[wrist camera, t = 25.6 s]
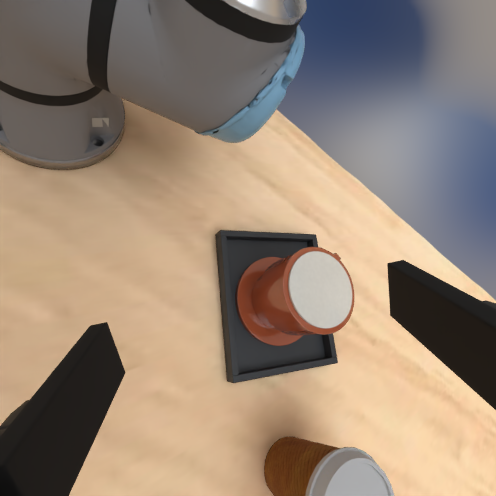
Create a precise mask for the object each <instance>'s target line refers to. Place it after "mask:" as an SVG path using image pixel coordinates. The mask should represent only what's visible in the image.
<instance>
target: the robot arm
mask: <svg viewBox="0 0 496 496" xmlns="http://www.w3.org/2000/svg"><path fill="white" fill-rule="evenodd" d="M306 7H307V5H306V0H0V150H2V151H3V152H5V153H6V154H8V155H10V156H12V157H13V158H15V159H18V160H20V161H22V162H25V163H27V164H30V165H34V166H37V167H42V168H48V169H58V170H68V169H77V168H83V167H87V166H90V165H93V164H95V163H97V162H99V161H101V160H103V159H105V158H106V157H107V156H109V155H110V154H111V153H112V152H113V151H114V150H115V149H116V147H117V146H118V144H119V142H120V140H121V138H122V135H123V130H124V120H125V111H124V106H123V102H122V99H121V98H123V99H125V100H128V101H130V102H132V103H134V104H136V105H139V106H141V107H143V108H145V109H148V110H150V111H152V112H154V113H157V114H159V115H161V116H163V117H166V118H168V119H170V120H172V121H175V122H177V123H179V124H181V125H184V126H186V127H188V128H190V129H193V130H194V131H195V132H196V133H198V134H202V135H209V136H211V137H214V138H217V139H219V140H222V141H224V142H228V143H239V142H242V141H244V140H246V139H248V138H250V137H251V136H253V135H254V134H255V133H256V132H257V131H258V130H259V129H260V128H261V127H262V126H263V125H264V124H265V123H266V122H267V121H268V119H269V118H270V117H271V116H272V114H273V113H274V112H275V110H276V109H277V107H278V106H279V104H280V103H281V101H282V100H283V98H284V96H285V94H286V88H287V86H288V85H289V83H290V82H291V81H292V80H293V79H294V77H295V75H296V73H297V70H298V68H299V66H300V63H301V60H302V56H303V53H304V47H305V41H304V33H303V32H302V31H301V29H300V26H299V25H298V24H299V22H300V21H301V19H302V18H303V15H304V14H305V12H306ZM388 281H389V298H390V316H392V317H393V318H394V319H395V320H396V321H397V322H398V323H399V324H401V325H402V326H403V327H404V328H405V329H406V330H407V331H408V332H409V333H411V334H412V335H413V336H414V337H415V338H416V339H417V340H418V341H419V342H421V343H422V344H423V345H424V346H425V347H426V348H427V349H428V350H429V351H431V352H432V353H433V354H434V355H435V356H436V357H437V358H438V359H440V360H441V361H442V362H443V363H444V364H445V365H446V366H447V367H448V368H450V369H451V370H452V371H453V372H454V373H455V374H456V375H457V376H458V377H460V378H461V379H462V380H463V381H464V382H465V383H466V384H467V385H469V386H470V387H471V388H472V389H473V390H474V391H475V392H476V393H477V394H479V395H480V396H481V397H482V398H483V399H484V400H485V401H486V402H487V403H489V404H490V405H491V406H492V407H493V408H494V409H495V410H496V303H492V302H489V301H480V300H478V299H476V298H474V297H472V296H470V295H468V294H467V293H465V292H463V291H461V290H459V289H457V288H455V287H453V286H451V285H450V284H448V283H446V282H444V281H442V280H440V279H438V278H436V277H434V276H433V275H431V274H429V273H427V272H425V271H423V270H421V269H419V268H417V267H416V266H414V265H412V264H410V263H408V262H406V261H404V260H401V261H397V262H392V263H388ZM124 374H125V370H124V368H123V365H122V362H121V359H120V357H119V354H118V351H117V348H116V346H115V343H114V340H113V337H112V335H111V332H110V329H109V326H108V324H107V322H106V323H101V324H96V325H92V326H90V327H89V328H88V329H87V330H86V332H85V333H84V334H83V335H82V336H81V338H80V339H79V340H78V341H77V343H76V344H75V345H74V346H73V348H72V349H71V350H70V351H69V352H68V354H67V355H66V356H65V357H64V359H63V360H62V361H61V362H60V364H59V365H58V366H57V367H56V368H55V370H54V371H53V372H52V373H51V375H50V376H49V377H48V378H47V380H46V381H45V382H44V383H43V385H42V386H41V387H40V388H39V389H38V391H37V392H36V393H35V394H34V396H33V397H32V398H31V399H30V400H28V401H26V402H24V403H23V404H22V405H21V406H20V407H18V408H17V409H16V410H15V411H14V412H12V413H11V414H10V415H9V416H8V418H7V419H6V420H5V421H4V422H3V423H2V425H1V426H0V496H69V494H70V492H71V489H72V487H73V485H74V483H75V481H76V479H77V476H78V474H79V472H80V470H81V468H82V466H83V463H84V461H85V459H86V457H87V455H88V453H89V450H90V448H91V446H92V444H93V442H94V440H95V437H96V435H97V433H98V431H99V429H100V427H101V424H102V422H103V420H104V418H105V416H106V413H107V411H108V409H109V407H110V405H111V403H112V400H113V398H114V396H115V394H116V392H117V390H118V387H119V385H120V383H121V381H122V379H123V377H124Z"/></svg>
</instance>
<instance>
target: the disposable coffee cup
mask: <svg viewBox="0 0 496 496" xmlns="http://www.w3.org/2000/svg"><path fill="white" fill-rule="evenodd" d="M264 470H265V480H266V483H267V486H268V487H269V489H270V491H271V492H272V493H273V495H274V496H394V493H393V490H392V486H391V484H390V482H389V480H388V478H387V476H386V474H385V473H384V471H383V470H382V469H381V468H380V467H379V466H378V465H377V463H376V462H375V461H374V460H373V458H372V457H371V456H370V455H368V454H367V453H366V452H364V451H362V450H360V449H357V448H354V447H344V448H337V447H333V446H328V445H324V444H320V443H316V442H312V441H307V440H303V439H299V438H295V437H284V438H281V439H279V440H278V441H277V442H275V443H274V445H273V446H272V447H271V449H270V450H269V452H268V455H267V457H266V461H265V468H264Z"/></svg>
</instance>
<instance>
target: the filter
mask: <svg viewBox="0 0 496 496" xmlns="http://www.w3.org/2000/svg"><path fill="white" fill-rule="evenodd" d="M340 259H341V258H340V257H339V256H338V255H337V253H334V254H332V253H331V252H329V251H327V250H325V249H322V248H318V247H307V248H303V249H301V250H299V251H297V252H295V253H293V254H291V255H288V256H286V257H284V258H278V257H266V258H262V259H260V260H257V261H255V262H254V263H252V264H251V265H249V266H248V267H247V268H246V269H245V271H244V272H243V273H242V275H241V276H240V279H239V281H238V284H237V287H236V293H235V303H236V309H237V313H238V316H239V319H240V321H241V323H242V324H243V326H244V328H245V329H246V330H247V331H248V333H249V334H250V335H251V336H252V337H254V338H255V339H257V340H258V341H260V342H262V343H264V344H267V345H272V346H283V345H288V344H291V343H293V342H295V341H297V340H298V339H300V338H301V337H302V336H303V335H325V334H331V333H334V332H336V331H338V330H340V329H341V328H342V327H343V326H344V325H345V324H346V323H347V322H348V320H349V318H350V316H351V314H352V311H353V307H354V289H353V284H352V280H351V278H350V275H349V273H348V271H347V269H346V268H345V266H344V265H343V263H342V262H341V261H340Z"/></svg>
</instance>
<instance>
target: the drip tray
mask: <svg viewBox="0 0 496 496" xmlns="http://www.w3.org/2000/svg"><path fill="white" fill-rule="evenodd" d="M316 239H317V238H316V235H314V234H292V233H270V232H248V231H226V230H220V231H219V232H218V233H217V234H216V248H217V260H218V273H219V285H220V298H221V310H222V322H223V335H224V347H225V360H226V372H227V381H228V382H232V383H237V382H242V381H247V380H252V379H257V378H262V377H268V376H273V375H278V374H283V373H288V372H293V371H299V370H304V369H309V368H314V367H319V366H324V365H330V364H335V363H338V361H337V355H336V349H335V343H334V337H333V333H331V334H325V335H303V336H302V337H301V338H300V339H298V340H297V341H295V342H293V343H291V344H288V345H283V346H272V345H267V344H264V343H262V342H260V341H258V340H257V339H255V338H254V337H252V336H251V335H250V334H249V333H248V331H247V330H246V329H245V328H244V326H243V324H242V323H241V321H240V319H239V316H238V313H237V309H236V303H235V293H236V287H237V284H238V281H239V279H240V276H241V275H242V273H243V272H244V271H245V269H246V268H247V267H248V266H249V265H251V264H252V263H254V262H255V261H257V260H260V259H262V258H266V257H278V258H284V257H286V256H288V255H291V254H293V253H295V252H297V251H299V250H301V249H303V248H307V247H318V244H317V240H316Z"/></svg>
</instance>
